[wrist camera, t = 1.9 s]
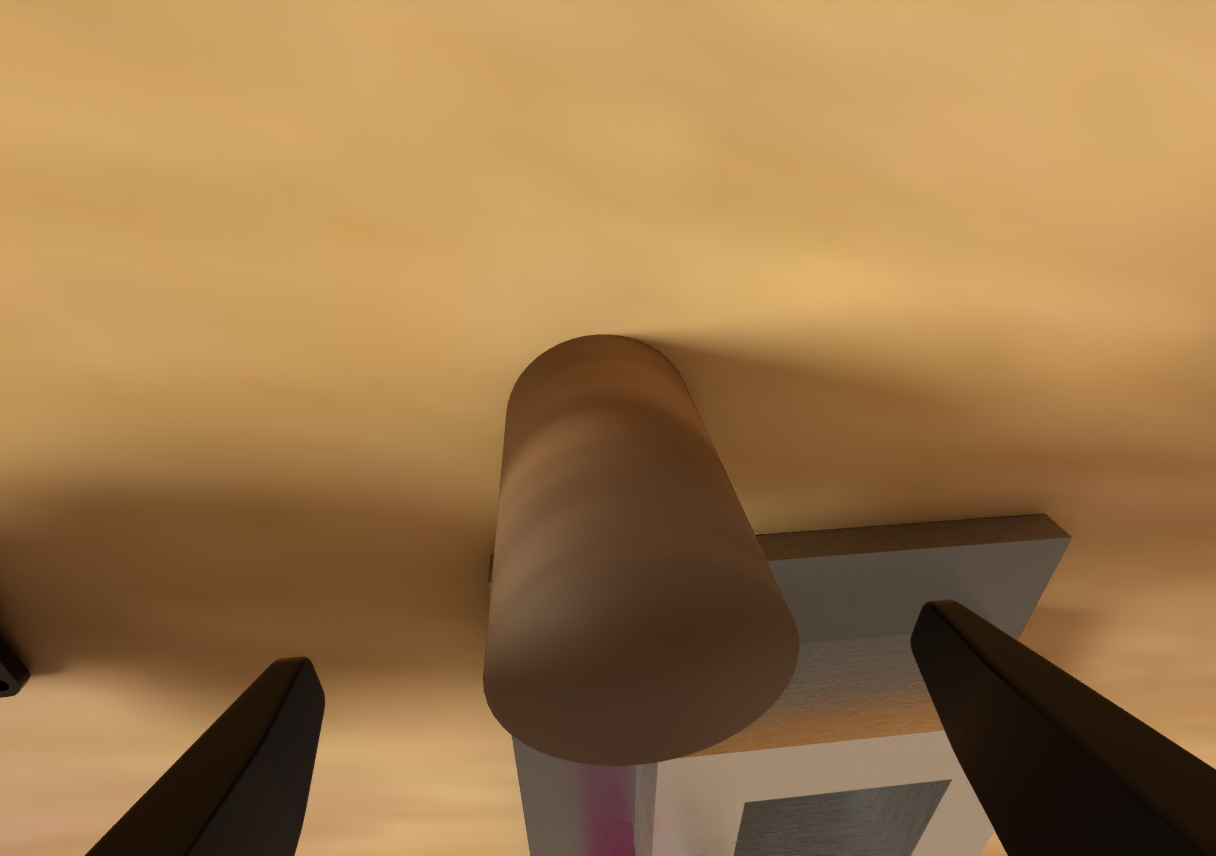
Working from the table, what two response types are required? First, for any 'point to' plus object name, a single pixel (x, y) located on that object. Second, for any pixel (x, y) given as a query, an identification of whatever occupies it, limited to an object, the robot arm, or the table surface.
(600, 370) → the walnut dowel
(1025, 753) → the robot arm
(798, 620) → the jig
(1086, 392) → the table surface
